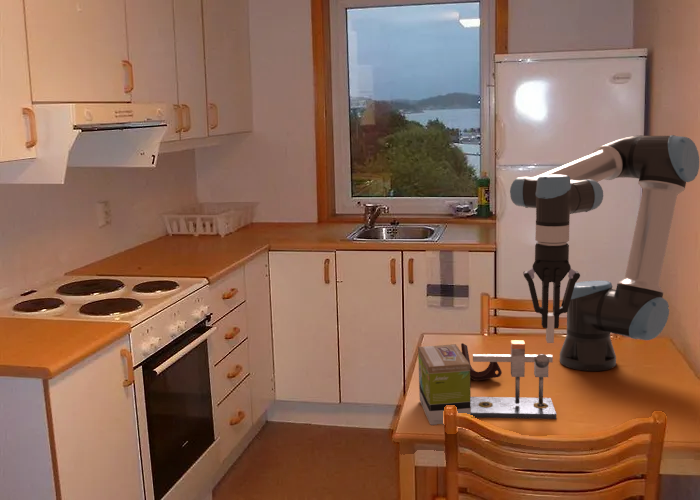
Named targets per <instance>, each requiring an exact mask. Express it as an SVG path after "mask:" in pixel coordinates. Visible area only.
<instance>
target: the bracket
mask: <svg viewBox="0 0 700 500" xmlns="http://www.w3.org/2000/svg"><path fill="white" fill-rule="evenodd" d="M460 345H461V352H462V354H463V355H464V357H465V358H466V360H467V361H468V362H469V364H470V379H472V380H474V381H482V380H488V379H495V378H499V377H502V373H503V372H502V369H501V367H500V365H499V362H489V364H488V366H487V368H485V369H484V370H481V371H476V370H475V369H474V368H473V367H472V365H471V360H470V355H469V349H468V345H467V344H465V343H463V342H462V343H461V344H460ZM496 372H497V373H496Z"/></svg>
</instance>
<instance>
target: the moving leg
mask: <svg viewBox="0 0 700 500" xmlns="http://www.w3.org/2000/svg"><path fill="white" fill-rule="evenodd" d="M510 355H512V362H510V376H511V378H514V379H515V384H514V385H515V387H514V388H515V391H514V392H515V403H516V404H519V399H520V398H521V396H520V389H521V383H520V382H521V381H520V379H521V378H525V376H526V375H525V372H526V371H525V370H526V362H525V355H526V343H525V340H520V339H519V340H516V339H515V340H513V339H512V340H510Z"/></svg>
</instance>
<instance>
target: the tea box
mask: <svg viewBox="0 0 700 500" xmlns="http://www.w3.org/2000/svg"><path fill="white" fill-rule="evenodd" d="M417 350H418V351H417V358H418V359H417V360H418V361H417V362H418V384H419V385H418V386H419V387H418V389H419V391H418V392H419V393H418V394H419V401H420V404H421V406H422V409H423V411H424V414H425V415H426V418H427V420H428V423H429V425H430V426H438V425H437V424H442V425H444V424H443V411H444V407H445V406H446V405H455V406H456V407H457V411H458V413H467V414H470V415H471V397H472V396H471V395H472V394H471V377H470V365H471V363H470V364H469V362H468V361H467V360H466V358H465V357H464V355H463V354H462V350H460V348H459V347H458V345H457V344H456V343H455V344H454V343H453V344H452V343H451V344H442V345H425V346H417Z"/></svg>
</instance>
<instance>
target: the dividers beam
mask: <svg viewBox="0 0 700 500" xmlns="http://www.w3.org/2000/svg"><path fill="white" fill-rule="evenodd" d="M553 359H554V358H553V354H544V353H539V354H525V363H533V367H534V368H533V369H534V370H533V372H534V373H533V375H534V377H535V378H538V398H539V404H543V398H544V378H549V364H550V363H553V362H554V361H553ZM472 361H473V363H490V362H497V363H511V362H512V355H511V354H507V353H506V354H504V353H503V354H499V353H497V354H496V353H495V354H491V353H487V354H486V353H483V354H481V353H479V354H477V353H473V354H472Z"/></svg>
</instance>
